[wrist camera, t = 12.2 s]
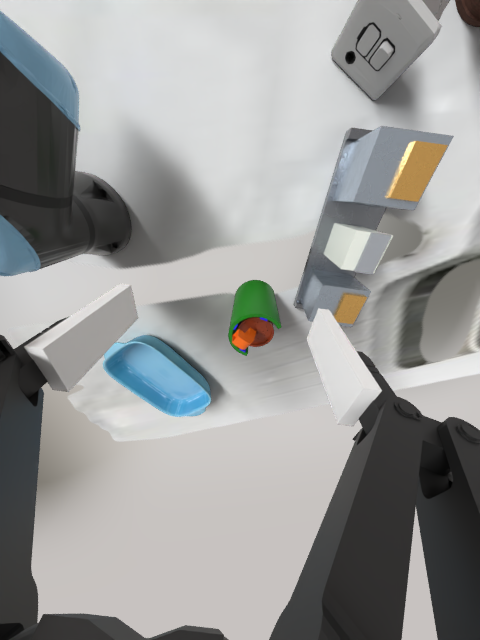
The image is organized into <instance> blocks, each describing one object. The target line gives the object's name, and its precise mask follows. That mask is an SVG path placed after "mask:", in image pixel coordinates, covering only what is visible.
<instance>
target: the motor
mask: <svg viewBox="0 0 480 640" xmlns="http://www.w3.org/2000/svg"><path fill="white" fill-rule="evenodd" d="M272 322H273V323H274V324H275V325H276V327H277V328H278V329H279V328H281V323H280V319H279V314H278V309H277V305H276V300H275V295H274V291H273V289H272V288H271V286H270V285H268V284H267V283H265V282H263V281H260V280H251V281H248V282H245V283H244V284H242V285H241V286H240V287H239V288H238V290H237V291H236V294H235V300H234V305H233V311H232V317H231V322H230V328H229V334H228V337H229V341H230V344H231V345H232V347H233V348H234V349H235V350H236V351H238V352H239V353H241V354H243V355H246V356H247V354H248V346H253V347H259V346H263V345H265V344H267V343H268V342H270V341H271V339H272V338H273V335H274V329H273V323H272Z"/></svg>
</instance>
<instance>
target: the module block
mask: <svg viewBox="0 0 480 640" xmlns="http://www.w3.org/2000/svg"><path fill="white" fill-rule="evenodd" d="M392 237H393V235H390V234H386V233H383V232H379V231H376V230H372V229H369V228H365V227H360V226H353V225H346V224H339V223H334V225H333V228H332V231H331V234H330V237H329V240H328V243H327V246H326V248H325V251H324V255H325V256H326V257H327V258H329V259H330V260H331V261H332V262H333V263H334V264H336V265H337V266H338V267H339V268H340V269H344V270H351V271H355V272H359V273H366V274H374V272H375V270H376V268H377V267H378V265H379V263H380V261H381V259H382V257H383V255H384V253H385V251H386V249H387V247H388V245H389V243H390V241H391V239H392Z"/></svg>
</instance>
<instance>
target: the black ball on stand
mask: <svg viewBox="0 0 480 640" xmlns="http://www.w3.org/2000/svg"><path fill="white" fill-rule="evenodd" d="M455 2H456V6H457V10H458V13H459V14H460V16H461V18H462V19H463V20H464V21H465V22H466V23H467V24H469V25H472V26H475V27H480V0H455Z"/></svg>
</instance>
